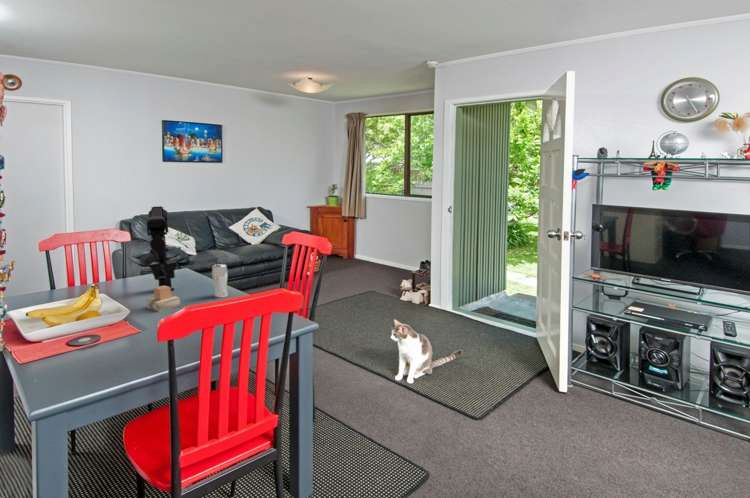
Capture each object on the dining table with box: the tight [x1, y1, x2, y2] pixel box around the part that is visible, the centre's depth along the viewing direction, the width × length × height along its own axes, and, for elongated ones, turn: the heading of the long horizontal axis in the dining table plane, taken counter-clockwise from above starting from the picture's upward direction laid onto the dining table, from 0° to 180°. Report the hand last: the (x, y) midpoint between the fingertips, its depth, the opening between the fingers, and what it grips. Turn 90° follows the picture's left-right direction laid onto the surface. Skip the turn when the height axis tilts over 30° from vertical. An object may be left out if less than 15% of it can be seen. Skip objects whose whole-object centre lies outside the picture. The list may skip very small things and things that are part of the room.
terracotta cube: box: [153, 285, 172, 300], centre depth 214 cm, size 5×5×5 cm
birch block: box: [145, 294, 181, 313], centre depth 214 cm, size 10×10×4 cm
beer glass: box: [211, 263, 229, 298], centre depth 230 cm, size 7×7×15 cm
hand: (162, 281), depth 213 cm, fingers open, 9 cm apart
